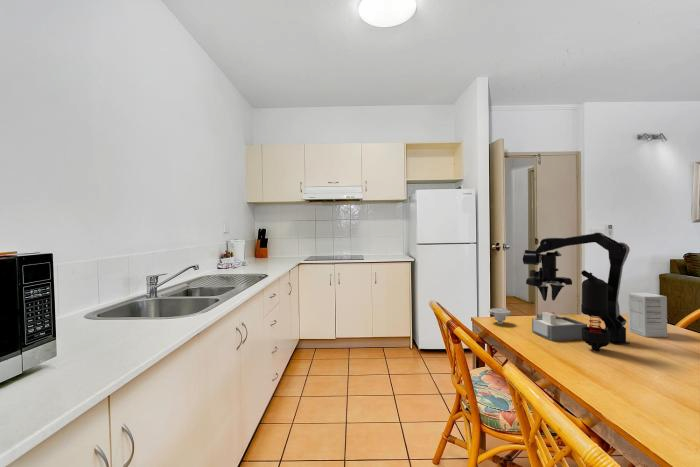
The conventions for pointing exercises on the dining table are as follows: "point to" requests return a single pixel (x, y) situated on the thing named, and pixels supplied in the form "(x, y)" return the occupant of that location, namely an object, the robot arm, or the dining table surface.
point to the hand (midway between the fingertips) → (548, 300)
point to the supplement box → (647, 314)
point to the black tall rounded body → (595, 310)
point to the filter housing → (562, 330)
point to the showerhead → (499, 314)
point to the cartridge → (547, 323)
